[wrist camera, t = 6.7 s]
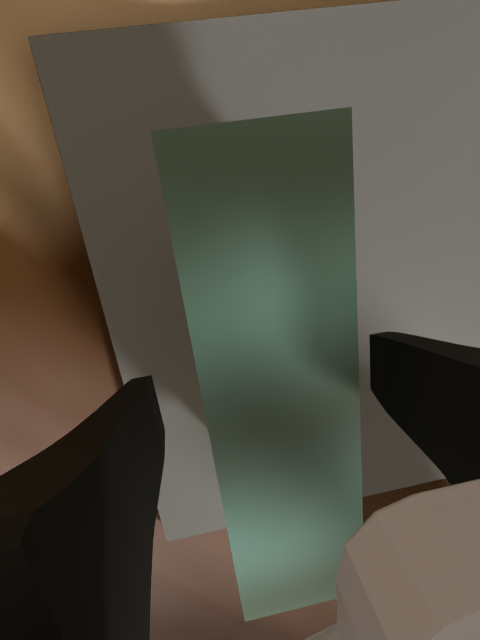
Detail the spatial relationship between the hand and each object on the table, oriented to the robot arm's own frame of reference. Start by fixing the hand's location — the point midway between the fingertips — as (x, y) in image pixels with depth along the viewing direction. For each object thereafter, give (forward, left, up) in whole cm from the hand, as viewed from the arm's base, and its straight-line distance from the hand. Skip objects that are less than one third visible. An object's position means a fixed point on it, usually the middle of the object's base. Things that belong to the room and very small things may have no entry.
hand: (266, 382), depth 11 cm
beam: (0, 0, -2) cm, 2 cm away
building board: (0, -7, -7) cm, 10 cm away
